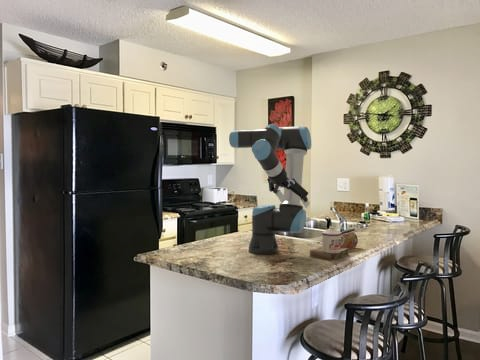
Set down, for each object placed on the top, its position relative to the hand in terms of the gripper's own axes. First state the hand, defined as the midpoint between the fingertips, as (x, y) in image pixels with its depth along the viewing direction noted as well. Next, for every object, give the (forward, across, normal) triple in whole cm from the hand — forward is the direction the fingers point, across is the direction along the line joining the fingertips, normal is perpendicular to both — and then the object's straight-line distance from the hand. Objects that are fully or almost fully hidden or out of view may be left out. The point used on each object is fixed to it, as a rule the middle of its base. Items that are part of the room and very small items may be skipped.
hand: (295, 203), depth 175 cm
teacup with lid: (+30, +10, -3) cm, 32 cm away
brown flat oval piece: (+48, +4, +9) cm, 49 cm away
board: (+34, +6, -4) cm, 35 cm away
